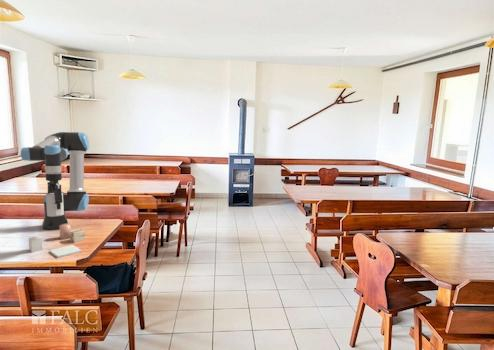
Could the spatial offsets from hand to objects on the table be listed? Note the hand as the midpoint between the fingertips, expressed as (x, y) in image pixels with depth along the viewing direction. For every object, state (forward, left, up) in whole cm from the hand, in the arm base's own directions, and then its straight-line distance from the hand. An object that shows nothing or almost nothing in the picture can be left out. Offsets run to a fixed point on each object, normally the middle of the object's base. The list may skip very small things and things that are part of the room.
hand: (55, 213), depth 179 cm
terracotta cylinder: (-13, +9, -20) cm, 26 cm away
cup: (0, 0, -1) cm, 1 cm away
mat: (+11, 0, -20) cm, 23 cm away
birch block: (-3, +12, -20) cm, 24 cm away
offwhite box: (-3, -10, -20) cm, 22 cm away
